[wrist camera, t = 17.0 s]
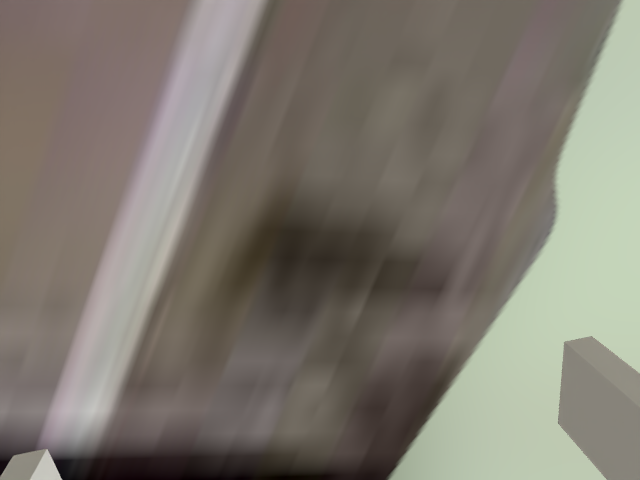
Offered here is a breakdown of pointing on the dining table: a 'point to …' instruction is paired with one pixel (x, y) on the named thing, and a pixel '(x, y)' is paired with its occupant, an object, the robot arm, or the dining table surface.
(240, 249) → the dining table surface
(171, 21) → the dining table surface
